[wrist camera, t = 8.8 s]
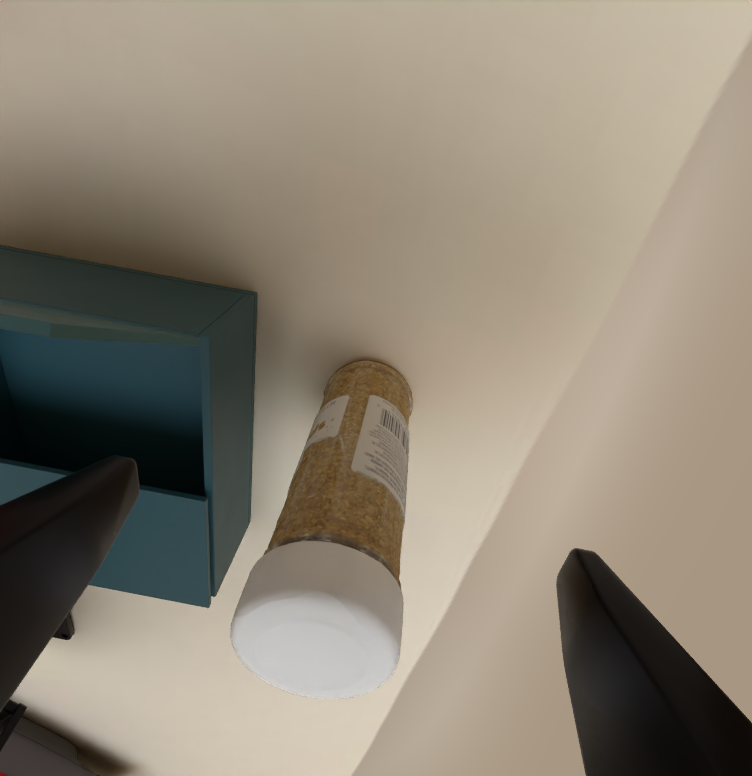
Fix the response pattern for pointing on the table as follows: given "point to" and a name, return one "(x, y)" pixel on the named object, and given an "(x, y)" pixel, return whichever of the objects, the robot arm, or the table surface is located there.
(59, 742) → the bluetooth speaker
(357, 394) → the sprinkles bottle
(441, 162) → the table surface
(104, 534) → the robot arm
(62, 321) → the panel
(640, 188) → the table surface
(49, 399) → the box
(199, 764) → the table surface
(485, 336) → the table surface
